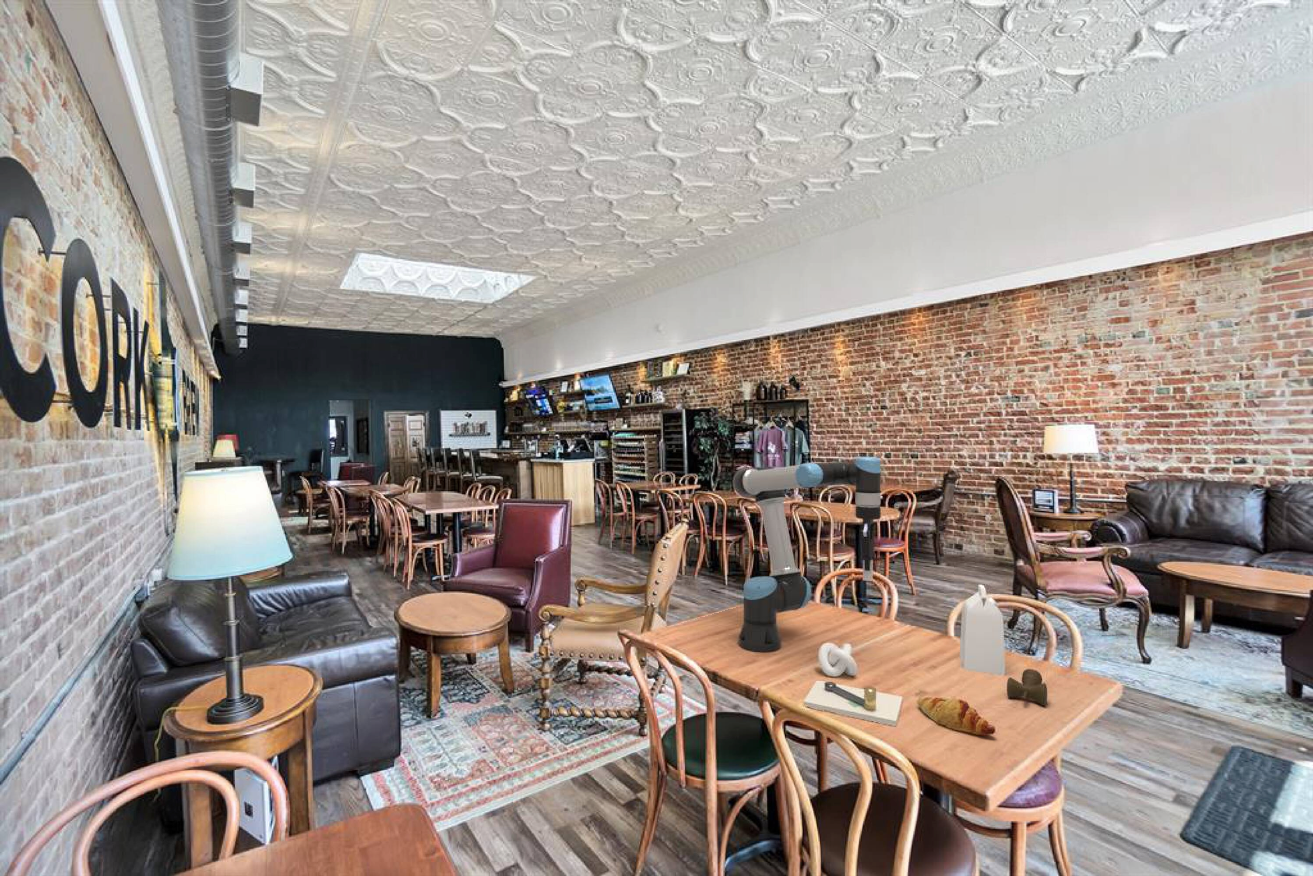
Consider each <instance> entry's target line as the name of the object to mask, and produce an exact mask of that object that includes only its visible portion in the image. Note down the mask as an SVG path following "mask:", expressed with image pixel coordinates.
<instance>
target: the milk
mask: <svg viewBox="0 0 1313 876" xmlns="http://www.w3.org/2000/svg"><path fill="white" fill-rule="evenodd" d="M997 605H998V603H997V601H996V600H995V599H994V598H992V597H988V596H987V589H986V588H985V586H984V584H978V586H977V592H976V593H974V594H973V595H972V596H970V597H969V598H968V599H966V600H964V601H963V603H962V608H961V623H960V625H961V626H960V641H959V643H960V644H959V645H960V646H959V660H960V659H961V660H960V663H961V662H962V663H961V665H963V666H962V669H963V668H964V669H963V671H964V670H970V671H976V672H975V673H978V672H983V673H982V674H986V673H992V674H991V675H994V674H997V675H996V676H1001V675H1003V677H1006V663H1005V662H1006V661H1005V660H1006V658H1005V657H1006V656H1005V631H1004V616H1003V613H1002V611H1001V610H1000V607H998V606H997ZM970 671H969V672H970Z"/></svg>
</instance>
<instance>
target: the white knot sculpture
mask: <svg viewBox="0 0 1313 876" xmlns="http://www.w3.org/2000/svg"><path fill="white" fill-rule="evenodd" d="M852 653H853V646H852V645H851V644H850V643H848V642H847V643H844V644H842V645H841V646H840V647H838V646H837V645H836V644H834V643H833V642H825V643H823V644H822V645H821V646H820V647H819V649H818V652H817V654H818V655H817V658H818V659H817V660H818V663H819V666H820V668H821V670H822V672H823V673H824V674H826V675H827V676H828V677H830V676H833V677H832V678H837V677H839V676H841V675H842V674H844V673H845V674H846V675H848V676H856V675H857V673H858V665H857V663H856V661H855V659H854V658H853V657H852Z"/></svg>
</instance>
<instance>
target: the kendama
mask: <svg viewBox="0 0 1313 876" xmlns="http://www.w3.org/2000/svg"><path fill="white" fill-rule="evenodd" d="M1042 677H1043V676H1042V675H1041V672H1039V671H1038V670H1036V669H1033V668H1027V669H1024V670H1023V672H1022V675H1021V682H1020V681H1017V680H1016V679H1014V678H1012V677H1008V678H1007V683H1006V694H1007V697H1008V699H1013V698H1019V697H1022V699H1024V700H1026V698H1029V699H1031V700H1034V701H1035V702H1036V703H1038V704H1040V705H1041V704H1042V705H1041V706H1043V705H1044V706H1043V707H1046V706H1047V704H1048V703H1047V702H1048V686H1047V684H1046V683H1044V682H1043V678H1042ZM1045 705H1046V706H1045Z"/></svg>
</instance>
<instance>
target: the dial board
mask: <svg viewBox="0 0 1313 876" xmlns="http://www.w3.org/2000/svg"><path fill="white" fill-rule="evenodd" d="M825 682H826V681H821V680H816V681H815V683H814V684H813V686H812V687H811V689H810V690H809V693H808V694H807V695H806V697H805V698H804V700H803V706H804V705H807V706H809V707H810V708H809V709H811V708H813V710H817V711H821V710H822V711H821V712H825V711H824V710H828V711H831V712H835V713H836V715H840V716H845V717H848V716H849V717H848V718H853V717H854V719H858V718H859V720H862V719H865V720H864V721H867V720H870V721H869V722H871V721H873V722H872V723H876V722H878V723H877V724H881V725H885V724H886V726H890V725H891V727H895V726H896V727H897V726H898V720H899V717H900V713H901V710H902V706H903V702H904V699H903V698H904V697H903V696H900V695H895V694H890V693H885V692H880V691H876V709H875V710H869V709H866V708H865V707H864V706H863V705H861V704H859V703H857V702H855V701H853V700H850V699H848V698H846V697H844V696H842V695H840V694H838V693H836V692H834V691H830V690H826V689H825ZM835 684H836V686H837V687H839V688H841V689H844V690H846V691H848V692H850V693H852V694H854V695H856V696H858V697H861V698H863V699H864V688H858V687H853V686H848V685H843V684H837V683H835ZM818 709H819V710H818Z"/></svg>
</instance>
